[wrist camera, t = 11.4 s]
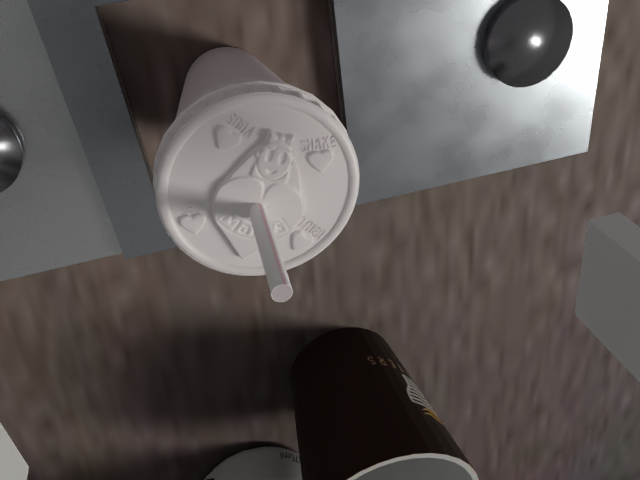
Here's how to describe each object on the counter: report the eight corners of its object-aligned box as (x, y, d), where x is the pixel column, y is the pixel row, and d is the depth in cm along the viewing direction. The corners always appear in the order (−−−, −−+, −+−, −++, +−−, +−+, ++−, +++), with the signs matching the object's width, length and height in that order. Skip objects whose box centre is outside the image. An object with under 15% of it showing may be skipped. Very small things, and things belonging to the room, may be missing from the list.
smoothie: (138, 140, 27) (130, 360, 15) (168, -9, 24) (188, 126, 12) (276, 169, 29) (359, 379, 17) (318, 37, 26) (452, 186, 15)
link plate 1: (-54, 286, 28) (-61, 302, 27) (-231, -6, 21) (-250, 1, 20) (389, 184, 31) (397, 195, 30) (370, -106, 24) (380, -104, 23)
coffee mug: (255, 340, 34) (289, 494, 26) (398, 294, 35) (474, 429, 27) (301, 460, 41) (339, 613, 33) (420, 419, 42) (487, 558, 33)
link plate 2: (125, 245, 29) (124, 266, 28) (16, -47, 22) (7, -40, 20) (573, 142, 32) (594, 156, 31) (610, -146, 25) (639, -146, 23)
